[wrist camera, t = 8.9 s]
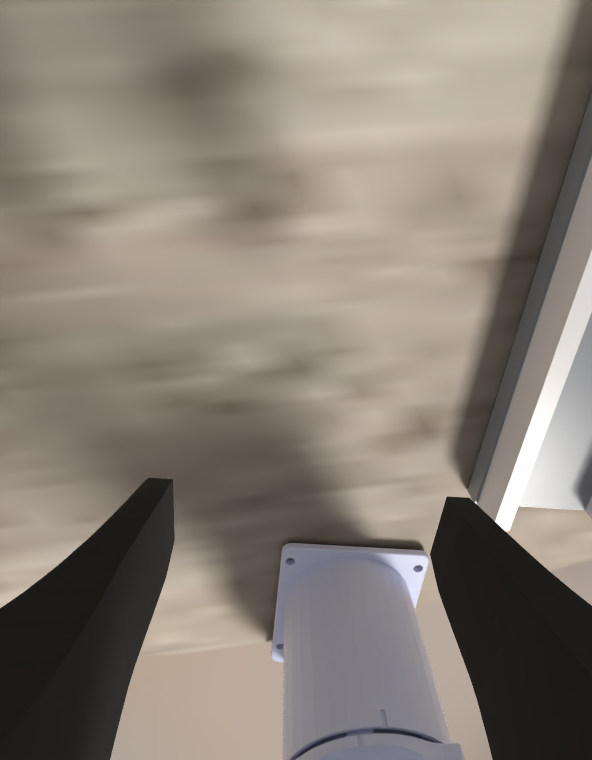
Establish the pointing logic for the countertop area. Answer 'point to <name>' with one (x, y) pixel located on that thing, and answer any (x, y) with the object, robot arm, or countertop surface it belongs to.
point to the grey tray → (548, 370)
